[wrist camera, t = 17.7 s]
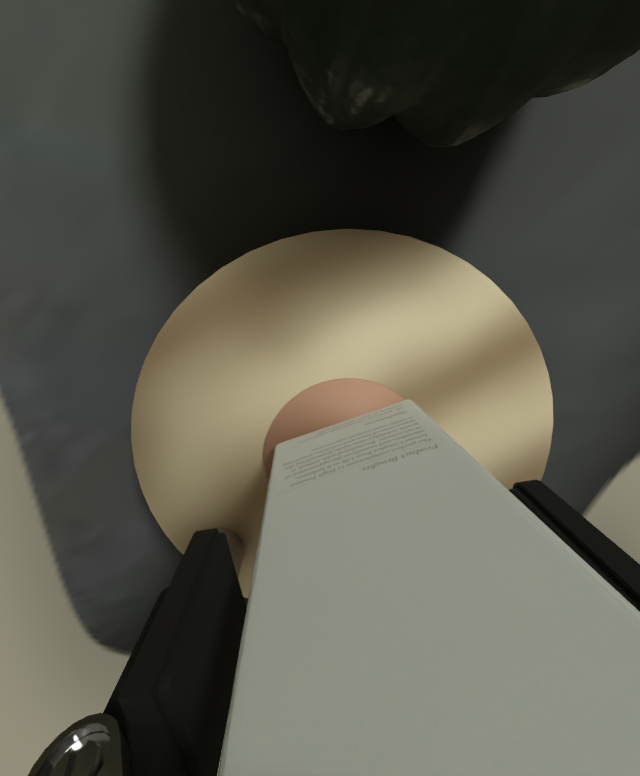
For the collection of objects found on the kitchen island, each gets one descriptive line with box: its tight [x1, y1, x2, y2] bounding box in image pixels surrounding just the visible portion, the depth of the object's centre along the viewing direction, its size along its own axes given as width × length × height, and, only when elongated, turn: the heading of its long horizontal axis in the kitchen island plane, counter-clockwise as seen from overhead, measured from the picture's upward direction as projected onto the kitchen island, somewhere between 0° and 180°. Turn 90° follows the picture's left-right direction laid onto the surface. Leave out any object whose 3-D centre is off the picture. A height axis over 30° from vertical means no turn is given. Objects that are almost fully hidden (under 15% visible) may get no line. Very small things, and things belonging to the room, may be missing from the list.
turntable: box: [131, 229, 553, 598], centre depth 13 cm, size 18×18×8 cm
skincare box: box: [218, 399, 640, 776], centre depth 9 cm, size 6×4×12 cm
